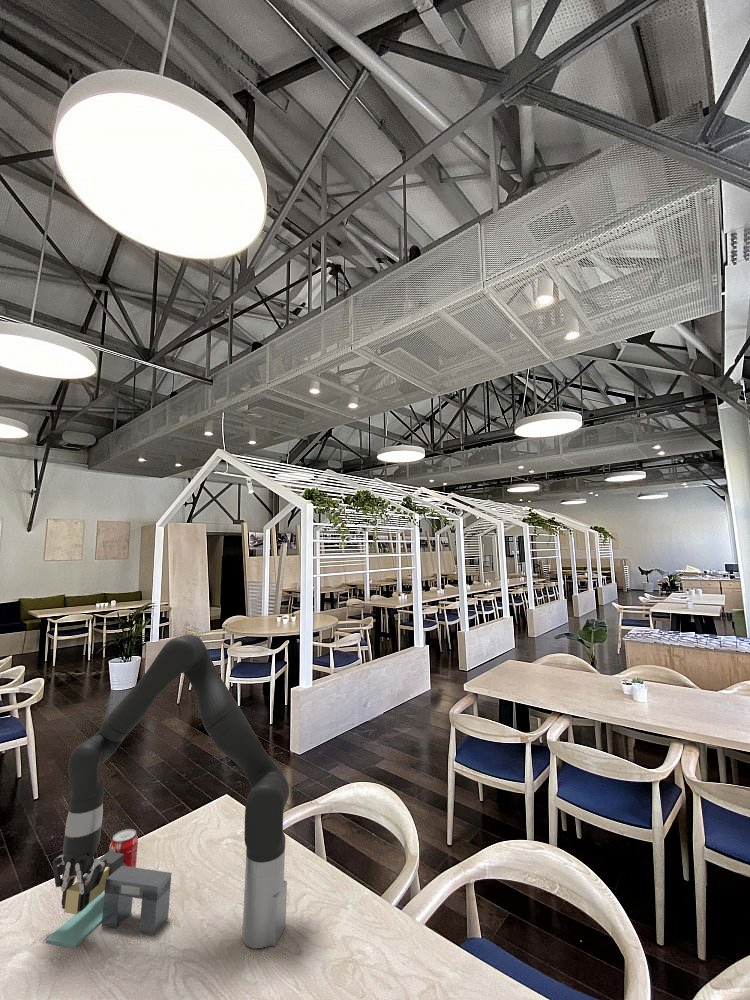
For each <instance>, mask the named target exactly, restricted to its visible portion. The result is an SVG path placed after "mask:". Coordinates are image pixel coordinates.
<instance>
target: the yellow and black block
mask: <svg viewBox="0 0 750 1000" xmlns="http://www.w3.org/2000/svg"><path fill="white" fill-rule="evenodd" d="M98 859H99V860H100V861H103V860H107V865H106V868H105V870H104V873H103V875H102V877H101V880H100V882H99V885H98V886H96V887H95V888H94V889H93V890H92V891H90V897H89V903H88V905H89V904H90V903H91V902H92V901H93V900H94V899H95V898H97V897H98V896H99V895H100V894H103V892H105V885H106V879H107V878H108V877H109V876H110V875H111V874H112V873H114V872H115V871H116V870H117V869H118V868H119V867H121V866H123V859H124V854H121V853H114V852H109V851H107V852H106V853H105V854H104V855H102V856H101V857H99V858H98ZM85 885H86V881H85ZM79 894H80V889H79V884H77V881H76V882H74V884H73V885H72V886H71V887H70V888H68V889H67V893H66V901H65V909H63V912H64V913H66V914H73V915H75V914H76V915H77V914H78V913H79V911H77V907H78V899H79Z"/></svg>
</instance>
